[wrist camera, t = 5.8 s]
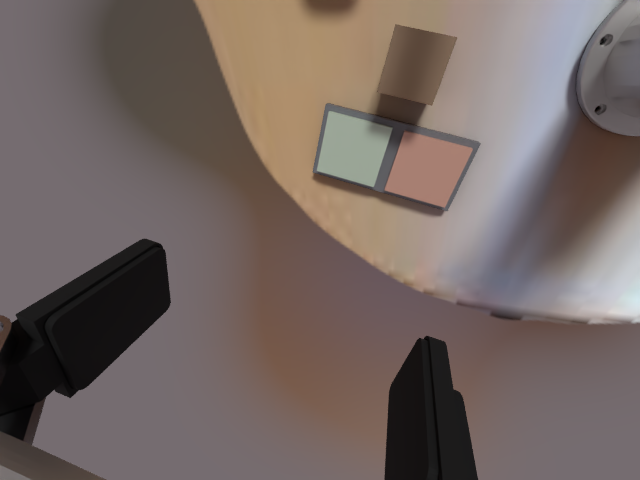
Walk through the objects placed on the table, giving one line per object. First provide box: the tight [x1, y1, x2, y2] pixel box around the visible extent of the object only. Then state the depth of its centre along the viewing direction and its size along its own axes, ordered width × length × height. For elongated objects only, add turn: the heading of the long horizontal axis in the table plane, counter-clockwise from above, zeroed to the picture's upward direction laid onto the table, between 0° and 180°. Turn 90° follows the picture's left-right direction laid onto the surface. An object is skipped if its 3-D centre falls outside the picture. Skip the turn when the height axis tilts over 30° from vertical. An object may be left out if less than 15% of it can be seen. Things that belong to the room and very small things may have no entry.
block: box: [377, 24, 457, 105], centre depth 27 cm, size 5×5×6 cm
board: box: [313, 103, 480, 211], centre depth 33 cm, size 17×8×2 cm, turn 78°
